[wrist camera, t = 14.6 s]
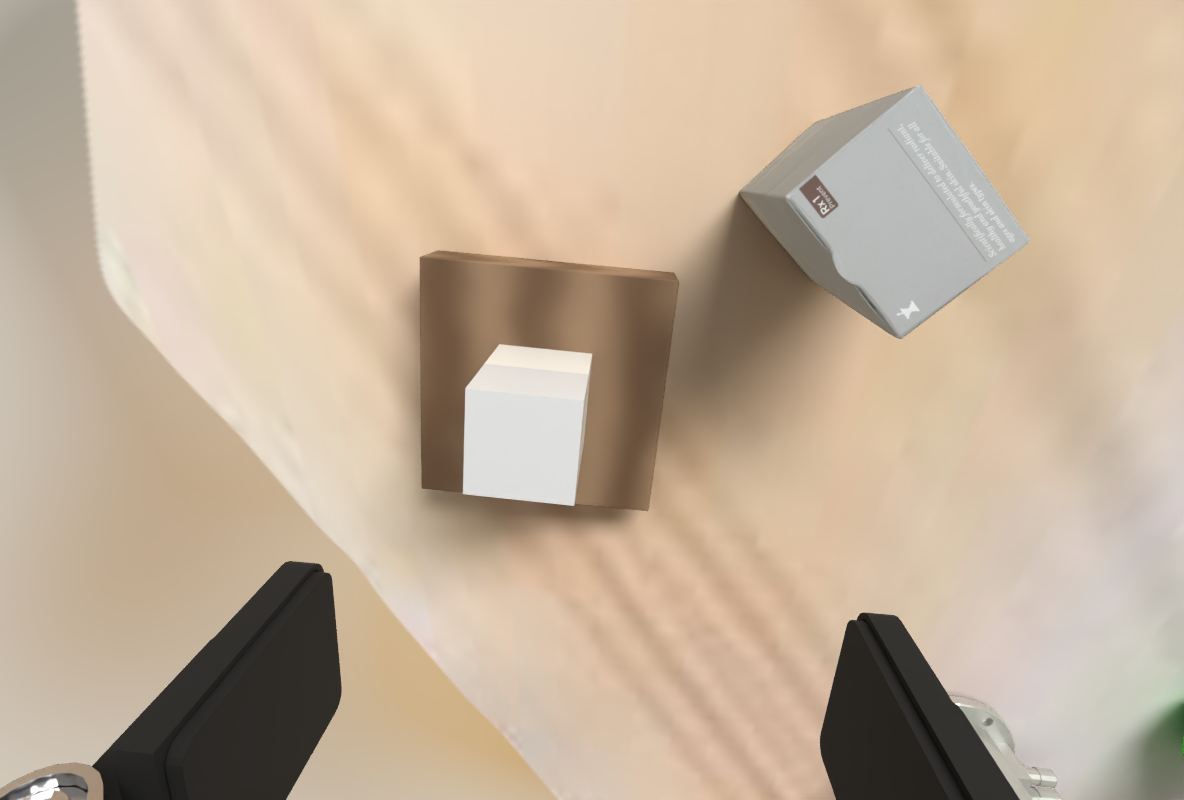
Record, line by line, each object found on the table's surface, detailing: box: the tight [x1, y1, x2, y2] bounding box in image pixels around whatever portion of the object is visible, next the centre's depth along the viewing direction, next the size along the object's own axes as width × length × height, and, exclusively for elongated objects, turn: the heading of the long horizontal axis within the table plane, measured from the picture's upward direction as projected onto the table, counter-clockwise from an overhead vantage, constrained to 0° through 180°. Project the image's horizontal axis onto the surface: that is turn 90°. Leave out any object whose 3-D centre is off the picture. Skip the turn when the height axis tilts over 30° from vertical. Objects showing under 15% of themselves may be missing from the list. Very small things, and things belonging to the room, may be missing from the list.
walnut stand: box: [420, 251, 679, 511], centre depth 42 cm, size 16×16×4 cm
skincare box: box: [739, 85, 1030, 339], centre depth 32 cm, size 8×7×16 cm
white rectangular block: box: [463, 344, 592, 506], centre depth 36 cm, size 6×6×9 cm
